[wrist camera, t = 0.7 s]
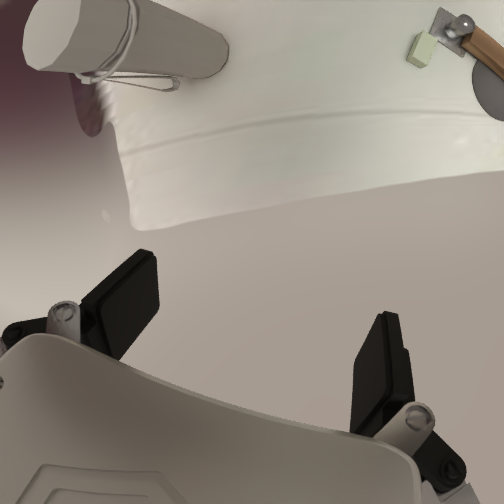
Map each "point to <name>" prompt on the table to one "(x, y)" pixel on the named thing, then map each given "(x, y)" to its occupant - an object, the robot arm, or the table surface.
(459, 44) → the ball knob on plate
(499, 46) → the bar
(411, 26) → the table surface
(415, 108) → the table surface
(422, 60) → the block
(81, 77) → the water bottle
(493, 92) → the pad
